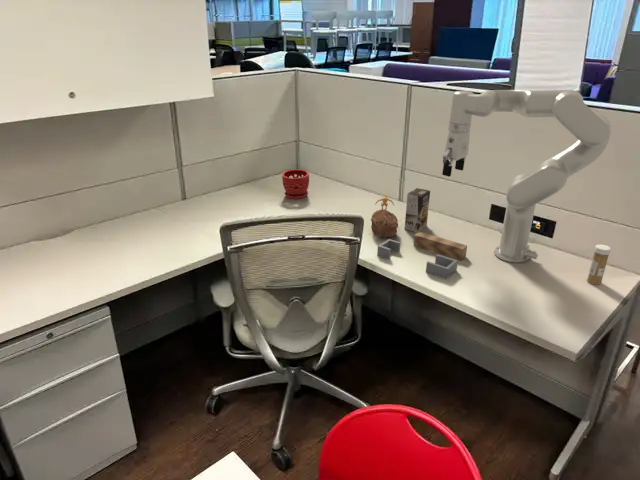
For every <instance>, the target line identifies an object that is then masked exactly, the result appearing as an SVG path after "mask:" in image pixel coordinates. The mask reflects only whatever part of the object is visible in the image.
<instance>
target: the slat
mask: <svg viewBox="0 0 640 480" xmlns="http://www.w3.org/2000/svg"><path fill="white" fill-rule="evenodd" d="M413 247H416V248H420V249H423V250H427V251H429V252H432V253H434V254H439V255H442V256H445V257H448V258H451V259H454V260H457V261H463V260H464V259H465V258H466V257H467V250H468V245H467V244H463V243H460V242H457V241H452V240H449V239H446V238H444V237H440V236H436V235H432V234H430V233H426V232H422V231H419V232H416V233H415V234H414V237H413Z"/></svg>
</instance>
